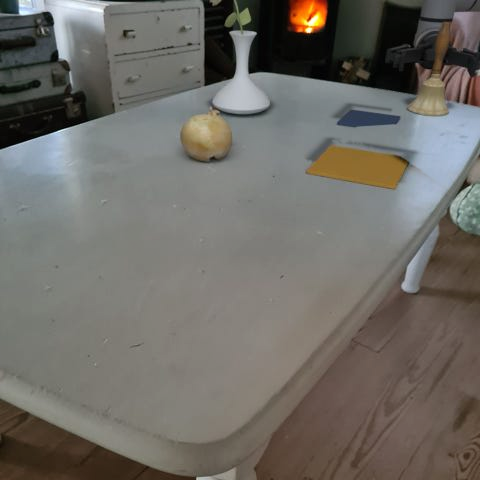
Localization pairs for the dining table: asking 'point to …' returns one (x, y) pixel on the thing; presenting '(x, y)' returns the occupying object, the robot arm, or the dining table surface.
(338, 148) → the ochre mat
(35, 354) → the dining table surface
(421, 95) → the hand bell
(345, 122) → the blue mat
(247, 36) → the flower in vase
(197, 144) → the onion
